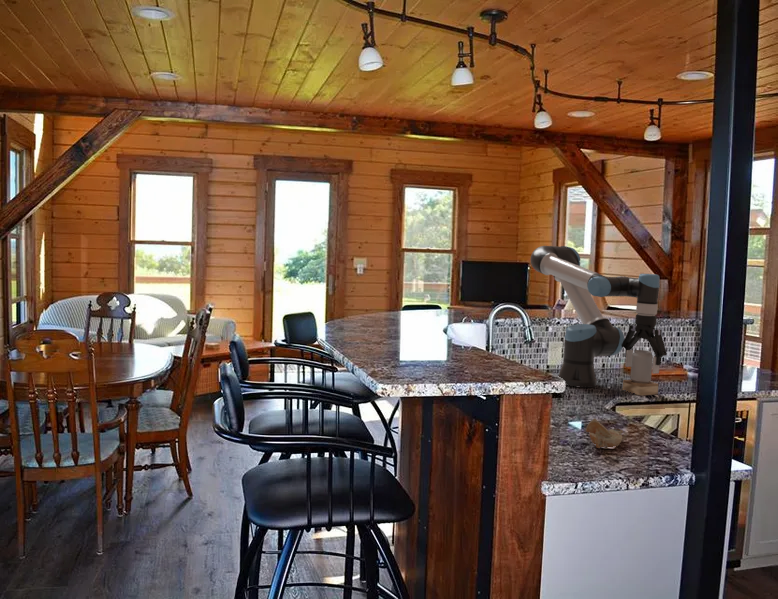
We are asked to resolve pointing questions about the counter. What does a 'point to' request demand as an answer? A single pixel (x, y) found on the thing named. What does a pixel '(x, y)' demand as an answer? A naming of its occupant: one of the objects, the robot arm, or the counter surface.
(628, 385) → the pedestal
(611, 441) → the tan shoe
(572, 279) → the robot arm
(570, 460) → the counter surface
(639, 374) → the can
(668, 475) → the counter surface
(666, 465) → the counter surface
